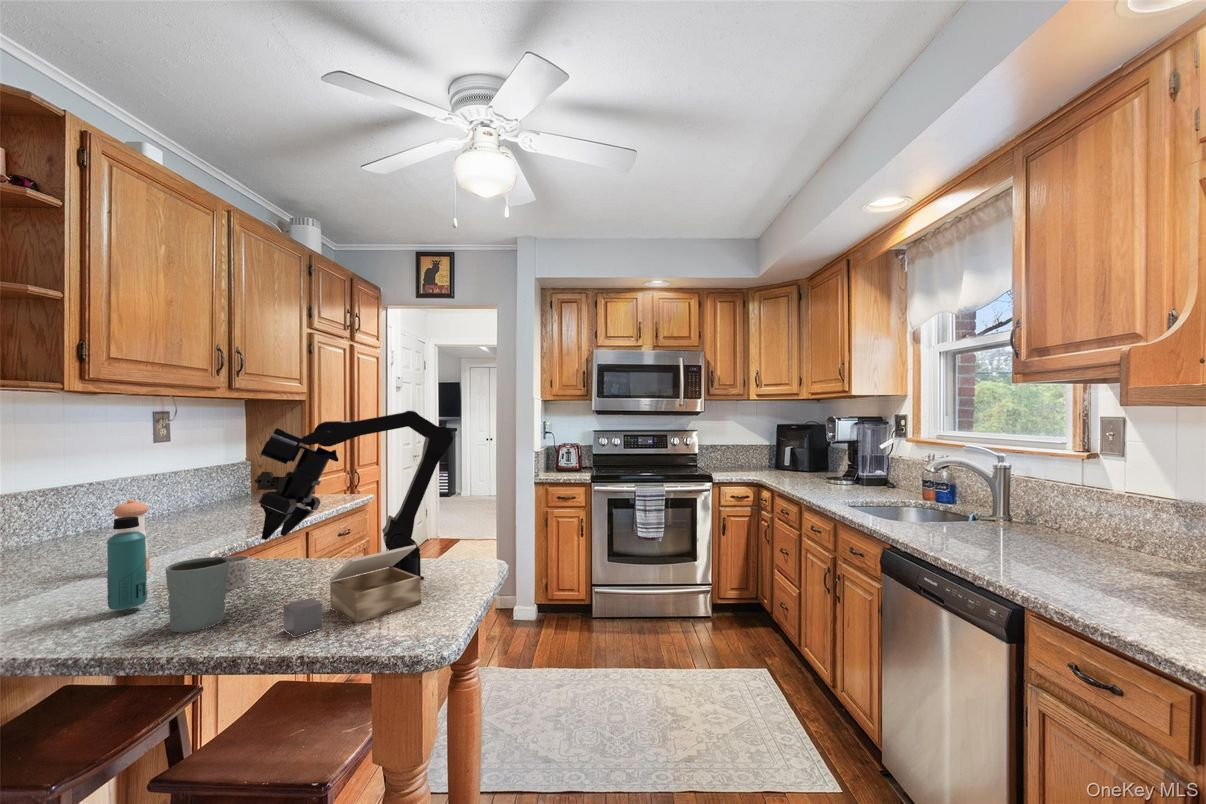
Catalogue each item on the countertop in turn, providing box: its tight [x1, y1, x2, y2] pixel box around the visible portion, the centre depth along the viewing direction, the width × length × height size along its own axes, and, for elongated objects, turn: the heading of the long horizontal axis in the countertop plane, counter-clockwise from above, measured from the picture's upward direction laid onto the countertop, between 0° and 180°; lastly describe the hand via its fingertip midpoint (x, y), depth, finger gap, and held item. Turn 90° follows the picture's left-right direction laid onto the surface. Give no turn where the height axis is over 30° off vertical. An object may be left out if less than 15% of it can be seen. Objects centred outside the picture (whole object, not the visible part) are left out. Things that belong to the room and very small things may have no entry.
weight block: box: [283, 597, 323, 637], centre depth 104 cm, size 5×5×5 cm
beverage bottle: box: [106, 516, 149, 611], centre depth 115 cm, size 6×7×20 cm
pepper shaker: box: [113, 498, 150, 572], centre depth 144 cm, size 7×7×19 cm
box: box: [329, 567, 422, 624], centre depth 116 cm, size 14×12×6 cm
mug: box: [225, 554, 251, 592], centre depth 129 cm, size 10×7×7 cm, turn 168°
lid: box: [329, 545, 416, 582], centre depth 117 cm, size 14×12×1 cm
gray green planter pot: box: [165, 556, 229, 634], centre depth 108 cm, size 10×10×12 cm
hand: (273, 537), depth 121 cm, fingers open, 9 cm apart
